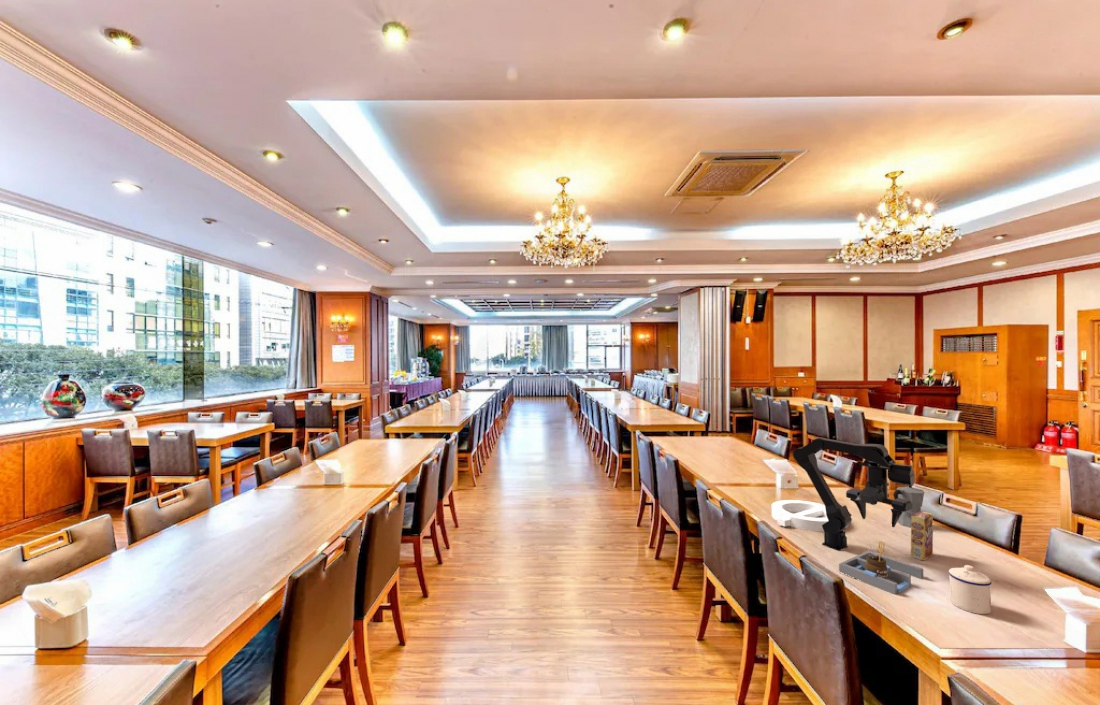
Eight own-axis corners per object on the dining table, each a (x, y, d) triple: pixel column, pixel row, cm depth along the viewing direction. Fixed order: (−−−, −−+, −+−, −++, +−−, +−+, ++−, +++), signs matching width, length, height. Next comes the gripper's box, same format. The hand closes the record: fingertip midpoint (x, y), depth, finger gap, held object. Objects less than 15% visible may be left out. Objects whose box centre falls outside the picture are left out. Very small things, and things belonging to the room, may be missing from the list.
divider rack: (839, 572, 148) (839, 562, 148) (868, 558, 158) (868, 548, 158) (895, 594, 134) (895, 582, 134) (924, 577, 144) (923, 567, 144)
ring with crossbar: (778, 528, 187) (778, 517, 187) (766, 507, 214) (766, 497, 214) (853, 535, 179) (853, 524, 179) (831, 513, 206) (831, 502, 206)
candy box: (925, 561, 155) (924, 518, 155) (910, 557, 159) (909, 515, 159) (934, 555, 160) (933, 513, 160) (919, 551, 164) (918, 510, 164)
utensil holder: (861, 577, 144) (860, 541, 145) (873, 573, 147) (872, 538, 147) (880, 585, 139) (879, 548, 139) (892, 582, 141) (891, 544, 142)
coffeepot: (912, 519, 196) (911, 479, 196) (934, 527, 186) (933, 485, 187) (884, 522, 192) (883, 481, 193) (905, 530, 183) (904, 487, 183)
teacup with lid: (1001, 616, 122) (1000, 574, 122) (964, 613, 123) (963, 572, 124) (967, 594, 134) (966, 555, 134) (934, 591, 135) (933, 554, 136)
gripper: (837, 477, 162) (838, 519, 162) (897, 489, 146) (898, 536, 146) (853, 472, 168) (854, 513, 167) (912, 484, 151) (913, 529, 151)
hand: (878, 522), depth 158 cm, fingers open, 9 cm apart
